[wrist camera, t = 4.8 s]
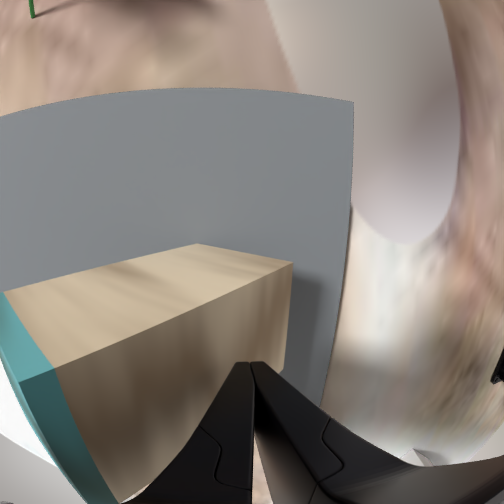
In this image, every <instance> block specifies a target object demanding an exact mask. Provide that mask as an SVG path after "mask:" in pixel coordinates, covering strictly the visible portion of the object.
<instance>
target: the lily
mask: <svg viewBox="0 0 504 504" xmlns="http://www.w3.org/2000/svg"><path fill="white" fill-rule="evenodd" d="M29 7H30V14H31V18H34V17H35V12H34V4H33V0H29Z"/></svg>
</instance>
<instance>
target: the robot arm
mask: <svg viewBox="0 0 504 504" xmlns="http://www.w3.org/2000/svg"><path fill="white" fill-rule="evenodd" d="M500 381H503V382H504V351H503V353H502V356H501V358H500V361H499V363H498V365H497V368H496V370H495V372H494V375H493V377H492V379H491V382H492V383H493V384H496V383H498V382H500ZM254 436H255V440H256V444H257V447H258V451H259V455H260V459H261V462H262V466H263V470H264V473H265V477H266V480H267V484H268V487H269V491H270V494H271V498H272V501H273V504H504V455H502V456H499V457H495V458H491V459H486V460H480V461H474V462H468V463H460V464H452V465H442V466H428V467H425V466H417V465H413V464H410V463H407V462H405V461H403V460H401V459H399V458H397V457H395V456H393V455H391V454H389V453H387V452H386V451H384V450H382V449H380V448H378V447H376V446H374V445H373V444H371V443H369V442H367V441H366V440H364V439H362V438H361V437H359V436H357V435H356V434H354V433H353V432H351V431H350V430H348V429H347V428H346V427H344V426H343V425H341V424H340V423H339V422H337V421H336V420H335V419H334V418H331V416H330V415H328V414H327V413H326V412H324V411H323V410H322V409H321V408H319V407H318V406H317V405H316V404H314V403H313V402H312V401H311V400H309V399H308V398H307V397H306V396H304V395H303V394H302V393H301V392H300V391H298V390H297V389H296V388H295V387H294V386H292V385H291V384H290V383H289V382H288V381H286V380H285V379H284V378H283V377H282V376H280V375H279V374H278V373H277V372H276V371H275V370H273V369H272V368H271V367H270V366H269V365H268V364H266V363H265V362H264V361H251V362H250V363H249V362H247V361H244V362H235V364H234V365H233V367H232V369H231V371H230V372H229V374H228V376H227V377H226V379H225V381H224V383H223V384H222V386H221V388H220V389H219V391H218V393H217V394H216V396H215V398H214V399H213V401H212V403H211V405H210V406H209V408H208V409H207V411H206V413H205V414H204V416H203V418H202V419H201V421H200V423H199V424H198V427H196V429H195V431H194V432H193V434H192V435H191V437H190V438H189V440H188V441H187V443H186V444H185V446H184V447H183V448H182V450H181V451H180V452H179V453H178V454H177V456H176V457H175V458H174V459H173V460H172V461H171V462H170V463H169V465H168V466H167V467H166V468H165V469H164V470H163V471H162V472H161V473H160V474H159V475H158V476H157V477H156V478H155V480H154V481H153V482H152V483H151V484H150V485H149V486H148V487H147V488H146V489H145V490H144V491H143V492H142V493H140V494H139V495H138V496H136V497H135V498H133V499H131V500H129V501H127V502H124V503H121V504H252V484H253V453H254ZM0 504H13V503H10V502H0Z"/></svg>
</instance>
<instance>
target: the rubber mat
mask: <svg viewBox="0 0 504 504" xmlns="http://www.w3.org/2000/svg"><path fill="white" fill-rule="evenodd" d="M353 104H354V102H350V101H344V100H339V99H333V98H327V97H320V96H313V95H306V94H298V93H290V92H280V91H269V90H255V89H237V88H170V89H152V90H139V91H128V92H119V93H110V94H103V95H95V96H89V97H83V98H77V99H71V100H66V101H61V102H56V103H51V104H47V105H42V106H38V107H34V108H30V109H26V110H22V111H18V112H15V113H11V114H8V115H5V116H1V117H0V293H1V292H5V291H9V290H12V289H16V288H20V287H24V286H27V285H31V284H35V283H39V282H42V281H46V280H50V279H54V278H58V277H62V276H65V275H69V274H73V273H77V272H81V271H85V270H89V269H93V268H97V267H101V266H105V265H109V264H113V263H117V262H121V261H125V260H129V259H134V258H138V257H142V256H146V255H150V254H154V253H159V252H163V251H167V250H171V249H176V248H180V247H184V246H188V245H193V244H197V243H198V244H203V245H208V246H213V247H218V248H223V249H228V250H233V251H239V252H244V253H249V254H254V255H259V256H264V257H269V258H274V259H279V260H285V261H290V262H293V272H292V284H291V296H290V307H289V318H288V329H287V339H286V348H285V358H284V367H283V370H282V371H281V372H280V373H279V375H280V376H282V377H283V378H284V379H285V380H286V381H288V382H289V383H290V384H291V385H292V386H294V387H295V388H296V389H297V390H298V391H300V392H301V393H302V394H303V395H304V396H306V397H307V398H308V399H309V400H311V401H312V402H313V403H314V404H316V405H317V406H318V407H319V408H320V403H321V399H322V395H323V390H324V386H325V381H326V376H327V371H328V366H329V361H330V356H331V351H332V345H333V340H334V334H335V328H336V322H337V316H338V309H339V303H340V296H341V288H342V281H343V273H344V265H345V256H346V247H347V237H348V226H349V214H350V201H351V184H352V163H353V128H354V125H353V123H354V118H353V117H354V111H353V110H354V105H353Z"/></svg>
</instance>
